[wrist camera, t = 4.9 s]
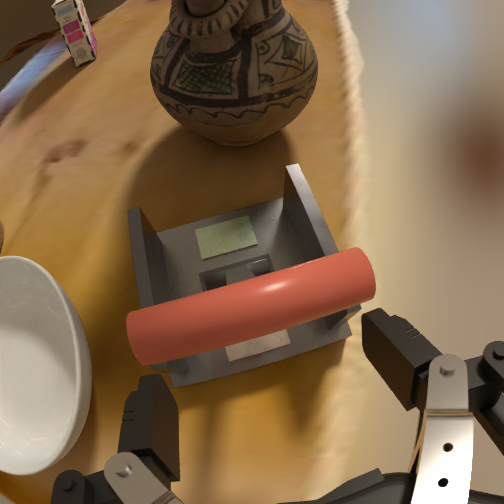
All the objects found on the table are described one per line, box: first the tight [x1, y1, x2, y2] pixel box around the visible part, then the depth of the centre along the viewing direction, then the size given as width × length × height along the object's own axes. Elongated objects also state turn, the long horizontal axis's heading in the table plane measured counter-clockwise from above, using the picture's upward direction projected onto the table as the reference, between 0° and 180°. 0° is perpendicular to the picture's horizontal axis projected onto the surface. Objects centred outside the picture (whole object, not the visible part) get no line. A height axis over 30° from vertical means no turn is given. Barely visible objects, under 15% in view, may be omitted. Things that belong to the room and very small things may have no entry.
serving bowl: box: [0, 256, 92, 476], centre depth 22 cm, size 21×21×7 cm
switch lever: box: [126, 247, 376, 366], centre depth 18 cm, size 2×10×13 cm, turn 106°
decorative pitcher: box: [150, 0, 318, 147], centre depth 25 cm, size 22×18×25 cm
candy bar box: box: [51, 0, 96, 67], centre depth 43 cm, size 11×5×16 cm, turn 22°
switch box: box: [128, 163, 362, 388], centre depth 24 cm, size 14×15×8 cm
